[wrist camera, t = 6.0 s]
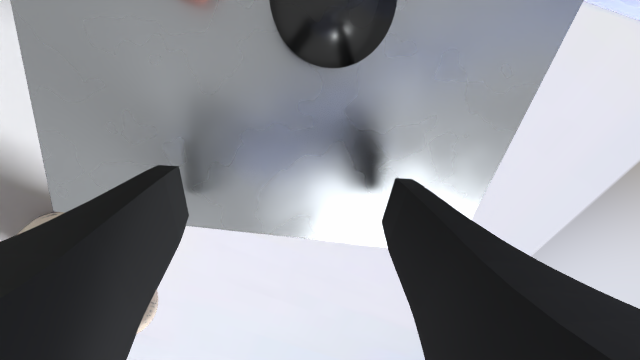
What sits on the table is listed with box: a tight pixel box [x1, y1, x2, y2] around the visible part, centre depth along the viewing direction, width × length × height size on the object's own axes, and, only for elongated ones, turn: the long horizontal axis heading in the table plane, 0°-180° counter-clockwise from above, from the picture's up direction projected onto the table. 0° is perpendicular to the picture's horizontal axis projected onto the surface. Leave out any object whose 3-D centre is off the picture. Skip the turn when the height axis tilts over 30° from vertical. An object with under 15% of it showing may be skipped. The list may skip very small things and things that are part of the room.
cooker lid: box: [10, 0, 583, 248], centre depth 7 cm, size 16×16×3 cm
